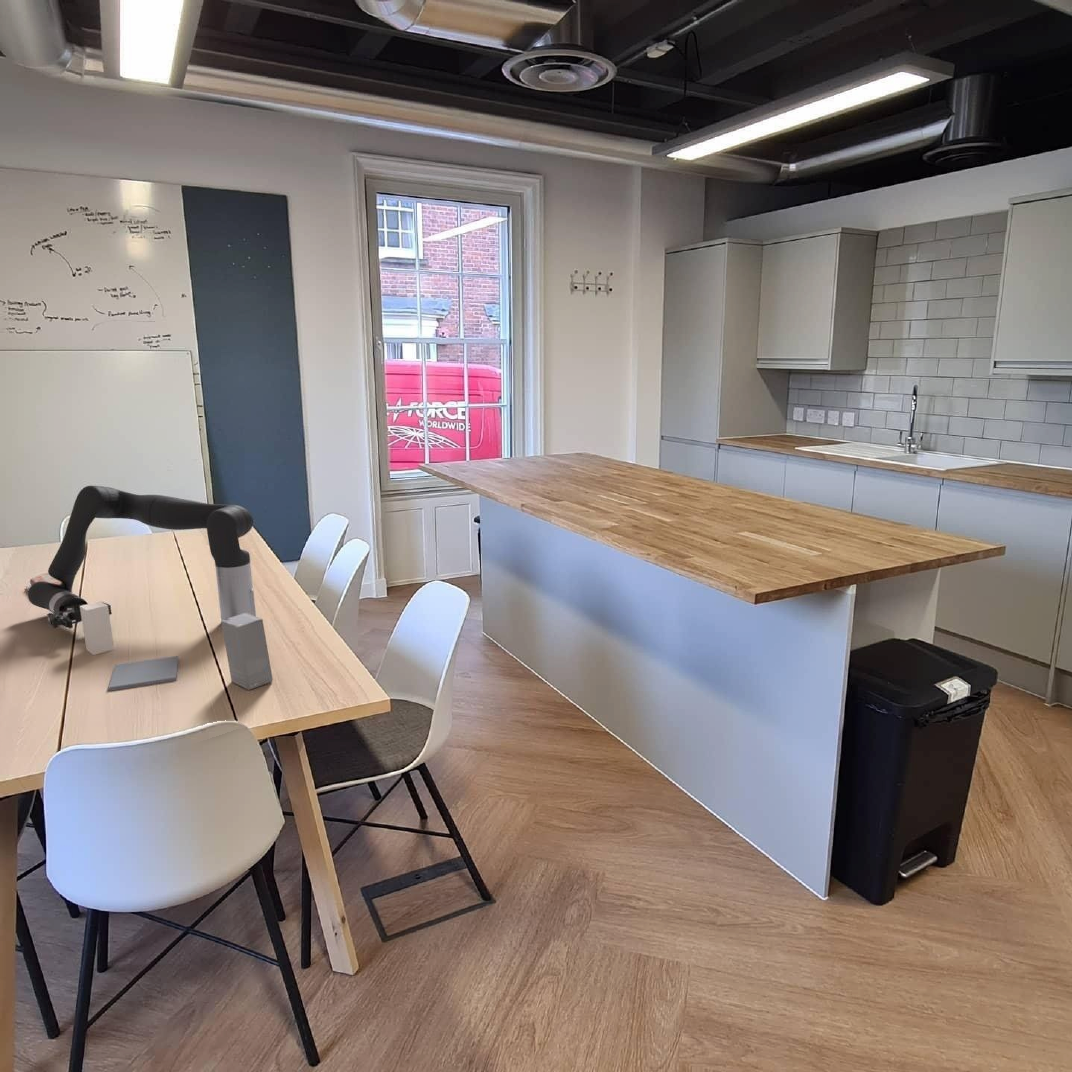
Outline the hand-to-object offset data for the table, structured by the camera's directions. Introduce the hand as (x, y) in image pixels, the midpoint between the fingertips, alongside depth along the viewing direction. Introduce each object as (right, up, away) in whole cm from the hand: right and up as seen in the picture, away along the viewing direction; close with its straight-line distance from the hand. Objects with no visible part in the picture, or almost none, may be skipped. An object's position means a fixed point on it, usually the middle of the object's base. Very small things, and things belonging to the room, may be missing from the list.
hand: (89, 620), depth 201 cm
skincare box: (+51, -12, -23) cm, 57 cm away
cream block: (+4, -7, -2) cm, 9 cm away
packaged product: (-40, +4, +46) cm, 61 cm away
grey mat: (+24, -11, -18) cm, 32 cm away
